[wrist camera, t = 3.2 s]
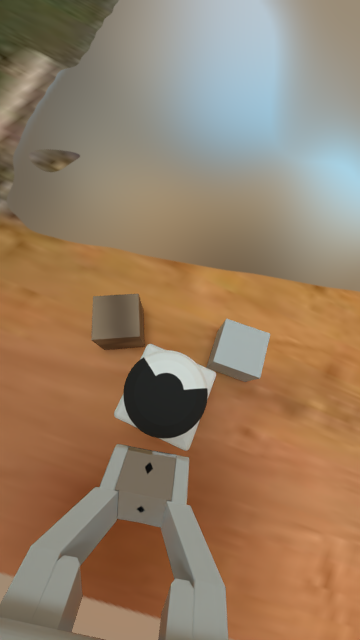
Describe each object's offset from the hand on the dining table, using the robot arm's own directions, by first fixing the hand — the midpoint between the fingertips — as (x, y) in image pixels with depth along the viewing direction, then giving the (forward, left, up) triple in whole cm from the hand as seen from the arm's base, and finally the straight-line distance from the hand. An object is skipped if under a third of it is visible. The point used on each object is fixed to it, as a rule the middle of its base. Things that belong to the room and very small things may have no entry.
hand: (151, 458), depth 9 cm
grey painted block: (+7, +9, -18) cm, 21 cm away
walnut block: (-7, +10, -18) cm, 22 cm away
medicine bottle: (0, +3, -18) cm, 18 cm away
